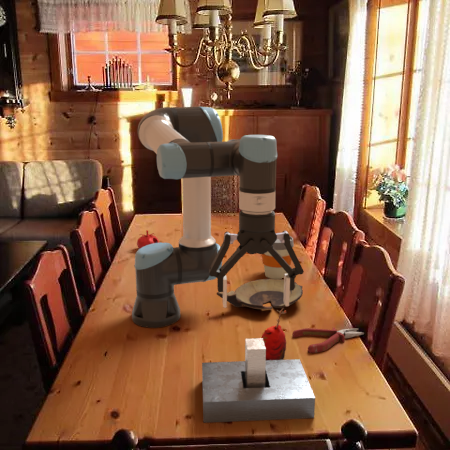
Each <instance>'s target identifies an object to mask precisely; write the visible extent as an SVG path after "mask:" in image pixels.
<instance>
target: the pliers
mask: <svg viewBox="0 0 450 450" xmlns="http://www.w3.org/2000/svg"><path fill="white" fill-rule="evenodd" d="M359 330H360V329H359V327H358V328H345V329H340V330H338V329H336V327H332V329H324V328H312V327H311V328H299V329H296V330H293V331H292V334H291V335H292V336H291V337H292V338H300V337H303V336H311V337H313V336H314V337H324V336H327V337H328V338H327V337H326V338H327V339H326V340H325V341H322V342H319V343H313V344H312V343H311V344H310V345H308V347H307V352H308V353H309V354H315V353H316V354H317V353H321V352H325V351H327V350H329V349H330V348H332V347H333V346H334V345H335V344H337V343H338V342H342V343H344V342H345V341H346V339H350V338H353V337H355V338H356V337H358V336H362V335H364V334H365V332H362V331H359Z"/></svg>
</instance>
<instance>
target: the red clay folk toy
mask: <svg viewBox="0 0 450 450" xmlns="http://www.w3.org/2000/svg"><path fill="white" fill-rule="evenodd" d="M283 310H284V311H283ZM276 311H277V312H278V313H279V315H278V318H277V319H276V321H277V322H276V325H272V326H269V327H267V328H265V329H264V332H263V333H262V335H261V337H260V338H263V341H264V344H265V348H266V360H285V356H286V355H285V354H286V350H287V339H286V333H285V332H284V330H283V328H282V326H281V325H280V324H279V323H280V322H281V320H280V319H281V315H282V314H287V310H285V307H282V308H281V310H278V309H276Z"/></svg>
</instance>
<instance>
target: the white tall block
mask: <svg viewBox="0 0 450 450" xmlns="http://www.w3.org/2000/svg"><path fill="white" fill-rule="evenodd" d="M244 341H245V343H244V344H245V345H244V348H245V352H244V361H245V388H265V365H266V348H265V344H264V341H263V338H261V337H257V338H256V337H255V338H245V339H244Z"/></svg>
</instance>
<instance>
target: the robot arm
mask: <svg viewBox="0 0 450 450" xmlns="http://www.w3.org/2000/svg"><path fill="white" fill-rule="evenodd" d="M137 136H138V140H139V141H140V143H141V144H142V145H143V146H144V147H145V148H146V149H147V150H150V151H153V152H154V153H155V154H156V166H157V170H158V174H159V177H160V178H162V179H164V180H182V183H181V184H182V224H183V225H182V227H183V229H182V230H183V233H182V235H183V236H181V237H180V238H179V240H178V246H175V247H173V245H172V244H171V243H169V242H159V243H153V244H149V245H146V246H144V247H142V248H140V249H139V248H138V250H137V251H136V252H135V255H134V265H133V266H134V271H135V285H136V287H135V289H136V295H135V296H136V298H135V300H134V304H133V307H132V310H131V311H132V312H131V320H132V322H133V323H134V324H135V325H137V326H139V327H144V328H151V329H152V328H154V329H155V328H163V327H168V326H171V325H173V324H175V323H177V322H178V321H179V320H180V318H181V308H180V305H179V302H178V300H177V297H176V295H175V286H176V285H185V284H193V283H195V284H196V283H204V282H205V283H206V282H207V281H209V282H210V281H213V280H217V283H216V284H217V285H216V286H217V292H221V293H223V298H222V308H224V309H225V308H227V307H228V302H227V293H228V291H227V290H228V278H227V275H228V273H229V272H230V271H231V269H233V267H234V266H235V265H236V264H237V263H238V262H239V261H240V259H241V258H242V257H244V256H245V255H246V254H249V255H255V254H259V255H262V254H264V253H266V252H267V251H268V252H269V253H270V254H271V255H272V256H273V257H274V259H275V260H276V261H277V262H278V263H279V264H280V265H281V266H282V268H283V269H284V270H285V271H286V272H287V273H288V274H284V279H283V280H284V303H285V306H286V307H289V306H290V305H289V293H290V290H294V284H295V282H296V281H295V280H296V277H297V276H298V275H303V274H304V273H305V271H304V269H303V266H302V265H301V263H300V261H299V258H298V257H297V255H296V251H294V249H293V248H294V247H293V248H292V246H291V244H290V236H291V235H290V233H289V232H288V231H287V230H283V231H282V232H277V233H276V229H275V228H276V226H275V225H276V213H275V209H276V188H277V187H276V186H277V185H276V184H277V183H276V182H277V164H278V163H277V162H278V160H277V159H278V150H277V147H278V146H277V144H278V143H277V139H276V138H275V136H273V135H269V134H268V135H267V134H248V135H246V134H245V135H243V136H241V137H240V139H229V140H227V141H223V139H224V134H223V125H222V122H221V118H220V115H219V113H218V111H217V110H216V109H215V108H213V107H210V106H209V107H207V106H182V107H180V106H179V107H177V106H176V107H175V106H174V107H173V106H171V107H169V106H167V107H160V108H159V107H158V108H155V109H154V110H151V111H149V112H148V113H146V114H145V115H144V116H143V117H142V118H141V119H140V121H139V122H138V125H137ZM228 176H229V177H230V176H238V177H239V182H238V183H239V188H238V189H239V191H238V192H239V193H238V195H239V197H238V200H239V201H238V202H239V203H238V208H239V210H240V211H239V214H238V231H237V233H230V232H229V231H225V232H224V234H223V241H222V243H221V245H220V244H218V243H216V241H217V240H216V238H214V236H213V235H212V231H211V230H212V213H211V212H212V203H211V202H212V200H211V198H212V195H211V194H212V187H211V186H212V185H211V184H212V179H211V178H212V177H228ZM277 239H279V240H280V242H281V243H284V245H285V247H286V249H287V251H288V253H289V256H290V258H291V260H292V261H291V263H293V265H294V267H291V265H290V266H289V265H288V263H287V262H286V261H285V260H284V259H283V258H282V256H281V255H280V254H279V253H278V252H277V251H276V250H275V248H274V247H273V246H272V245H273V244H274V242H275V241H276V240H277ZM235 241H237V242H238V243H239V245H238V246H237V248H236V249H235V251H234V252H233V253H232V254H231V256H230V257H228V259H227V260H226V261H225V262H224V263H223V260H224V258H225V257H226V254H227V252H228V251H229V249H230V245H232V244H234V242H235Z"/></svg>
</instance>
